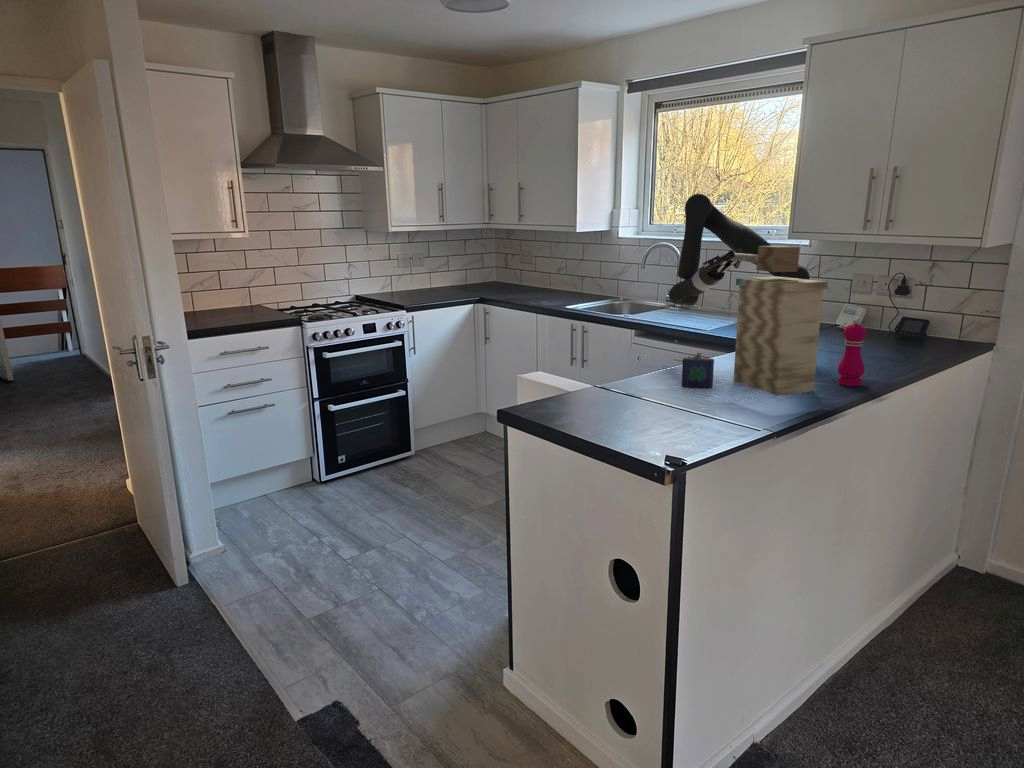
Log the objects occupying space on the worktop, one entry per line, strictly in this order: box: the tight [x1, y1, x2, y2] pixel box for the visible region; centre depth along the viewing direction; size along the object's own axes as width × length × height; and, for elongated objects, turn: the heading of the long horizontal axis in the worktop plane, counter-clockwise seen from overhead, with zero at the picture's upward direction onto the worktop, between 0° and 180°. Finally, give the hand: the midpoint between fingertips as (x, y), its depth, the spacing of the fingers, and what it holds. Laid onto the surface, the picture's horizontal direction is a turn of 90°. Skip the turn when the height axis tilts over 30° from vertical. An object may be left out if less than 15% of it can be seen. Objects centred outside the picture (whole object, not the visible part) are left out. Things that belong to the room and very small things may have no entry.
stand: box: [733, 275, 829, 396], centre depth 195 cm, size 22×14×32 cm, turn 18°
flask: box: [681, 352, 715, 389], centre depth 198 cm, size 9×3×11 cm, turn 78°
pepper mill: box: [837, 318, 867, 387], centre depth 197 cm, size 7×7×20 cm
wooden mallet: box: [723, 245, 801, 273], centre depth 201 cm, size 28×8×7 cm, turn 18°
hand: (737, 252), depth 209 cm, fingers closed on wooden mallet, 2 cm apart
